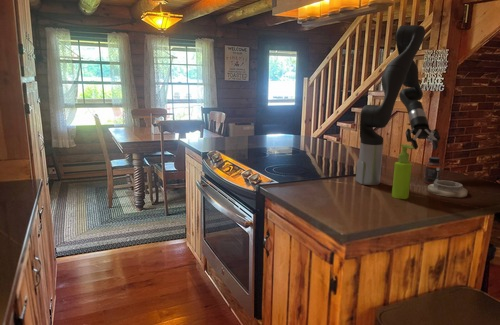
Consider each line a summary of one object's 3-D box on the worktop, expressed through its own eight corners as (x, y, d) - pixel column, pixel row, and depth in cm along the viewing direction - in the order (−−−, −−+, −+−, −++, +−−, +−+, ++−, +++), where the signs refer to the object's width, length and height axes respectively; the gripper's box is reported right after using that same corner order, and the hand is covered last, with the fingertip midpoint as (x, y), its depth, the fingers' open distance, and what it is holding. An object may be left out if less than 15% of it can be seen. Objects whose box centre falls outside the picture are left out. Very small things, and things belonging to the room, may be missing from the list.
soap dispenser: (400, 200, 137) (405, 147, 132) (388, 195, 143) (393, 143, 139) (413, 199, 138) (419, 146, 134) (401, 193, 145) (406, 143, 140)
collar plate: (442, 198, 140) (443, 189, 139) (420, 187, 153) (421, 179, 153) (475, 196, 142) (476, 187, 141) (451, 186, 155) (452, 178, 155)
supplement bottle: (440, 185, 157) (444, 159, 155) (425, 184, 158) (428, 158, 156) (436, 181, 163) (439, 156, 160) (422, 181, 164) (425, 156, 161)
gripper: (405, 115, 172) (413, 143, 163) (436, 115, 171) (445, 144, 163) (400, 125, 178) (407, 153, 169) (430, 125, 178) (438, 153, 169)
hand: (426, 148), depth 166 cm, fingers open, 8 cm apart
